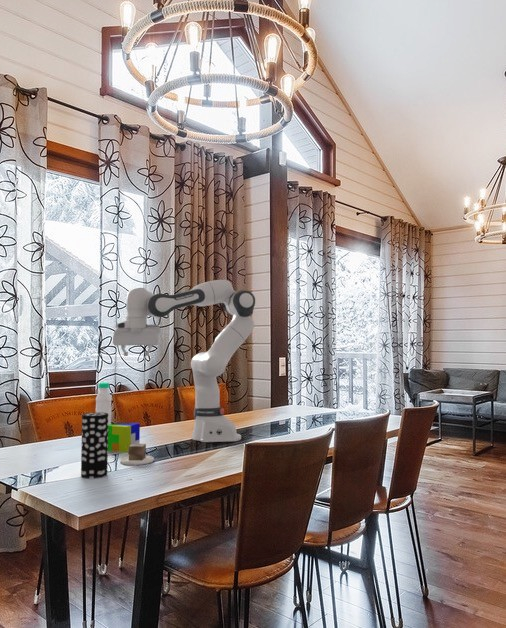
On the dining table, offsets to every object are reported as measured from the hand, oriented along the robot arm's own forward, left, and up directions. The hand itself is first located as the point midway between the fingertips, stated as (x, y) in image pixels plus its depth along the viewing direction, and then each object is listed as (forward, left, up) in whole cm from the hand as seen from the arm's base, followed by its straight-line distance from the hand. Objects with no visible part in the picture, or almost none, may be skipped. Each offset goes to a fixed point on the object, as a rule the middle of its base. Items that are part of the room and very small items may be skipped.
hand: (136, 355), depth 229 cm
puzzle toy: (+2, +14, -38) cm, 40 cm away
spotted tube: (-1, +56, -38) cm, 67 cm away
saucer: (-10, +36, -38) cm, 53 cm away
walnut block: (-10, +36, -37) cm, 52 cm away
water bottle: (+18, -10, -38) cm, 43 cm away
